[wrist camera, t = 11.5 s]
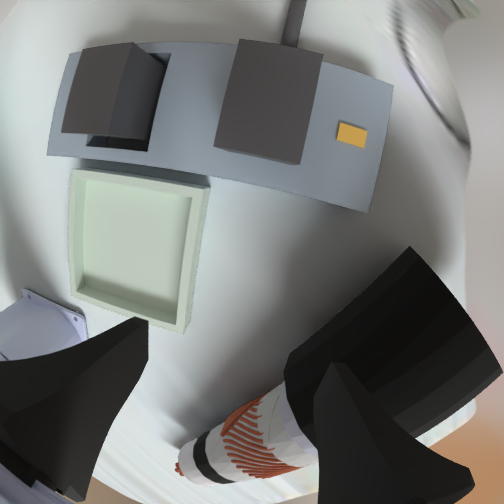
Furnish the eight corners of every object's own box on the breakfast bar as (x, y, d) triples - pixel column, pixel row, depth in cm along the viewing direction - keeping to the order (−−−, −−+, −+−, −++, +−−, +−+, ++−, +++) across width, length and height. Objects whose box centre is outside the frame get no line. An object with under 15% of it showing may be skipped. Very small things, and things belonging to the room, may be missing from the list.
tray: (83, 287, 21) (71, 295, 19) (86, 167, 17) (71, 168, 16) (190, 321, 20) (183, 334, 19) (210, 187, 17) (203, 189, 16)
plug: (115, 137, 17) (60, 132, 11) (130, 73, 15) (82, 49, 9) (156, 141, 17) (107, 134, 11) (173, 73, 15) (133, 42, 9)
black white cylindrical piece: (182, 422, 31) (127, 456, 22) (404, 243, 18) (416, 249, 9) (229, 474, 28) (183, 516, 19) (477, 336, 15) (519, 401, 6)
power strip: (67, 154, 17) (7, 158, 11) (118, -12, 12) (81, -44, 6) (355, 207, 17) (395, 229, 11) (388, 11, 12) (421, -31, 6)
